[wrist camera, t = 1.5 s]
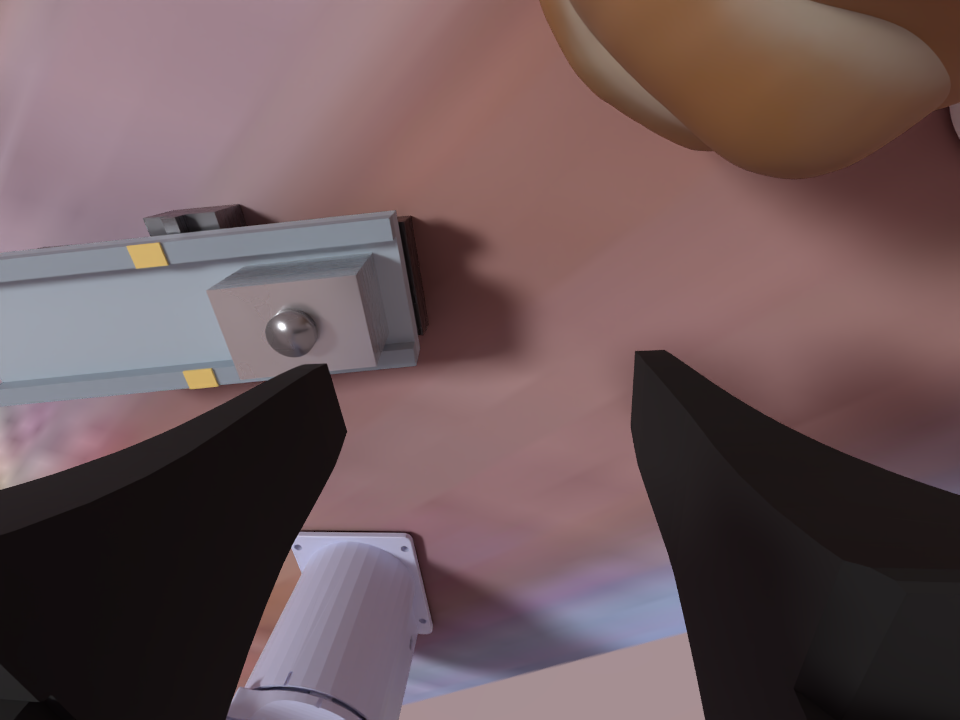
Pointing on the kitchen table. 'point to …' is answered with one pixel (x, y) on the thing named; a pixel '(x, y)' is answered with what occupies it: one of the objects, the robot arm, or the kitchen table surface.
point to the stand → (234, 218)
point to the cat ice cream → (767, 72)
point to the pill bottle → (955, 117)
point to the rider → (302, 315)
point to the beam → (166, 306)
